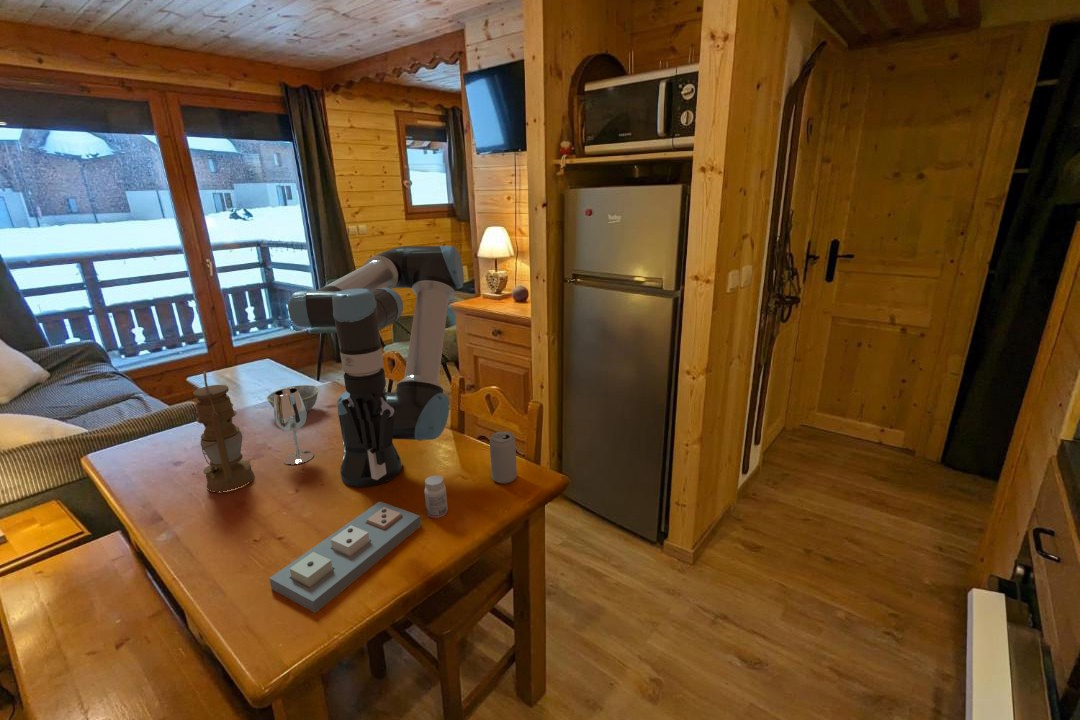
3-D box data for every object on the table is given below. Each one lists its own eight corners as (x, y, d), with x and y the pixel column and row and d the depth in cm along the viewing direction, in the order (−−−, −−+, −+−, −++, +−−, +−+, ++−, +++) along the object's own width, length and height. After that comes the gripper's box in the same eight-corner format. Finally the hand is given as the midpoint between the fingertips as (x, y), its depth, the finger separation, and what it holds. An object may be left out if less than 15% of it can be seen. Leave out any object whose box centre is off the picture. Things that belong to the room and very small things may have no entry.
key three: (385, 537, 103) (383, 525, 102) (368, 530, 106) (366, 518, 105) (402, 523, 107) (400, 512, 107) (385, 517, 110) (383, 506, 109)
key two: (350, 558, 95) (348, 546, 95) (332, 550, 98) (330, 538, 97) (370, 543, 100) (368, 531, 99) (352, 536, 102) (350, 524, 101)
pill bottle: (428, 506, 114) (424, 474, 112) (448, 505, 115) (446, 473, 112) (425, 519, 110) (421, 486, 107) (447, 517, 110) (443, 485, 108)
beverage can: (513, 486, 122) (511, 442, 118) (488, 483, 123) (486, 440, 119) (519, 473, 128) (518, 431, 124) (495, 470, 129) (493, 429, 125)
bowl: (259, 422, 161) (255, 401, 158) (290, 403, 176) (287, 383, 173) (304, 425, 158) (300, 403, 156) (331, 405, 173) (328, 385, 171)
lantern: (196, 481, 127) (167, 371, 118) (239, 464, 135) (215, 360, 125) (221, 501, 118) (191, 384, 109) (265, 482, 126) (241, 371, 117)
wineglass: (276, 462, 135) (262, 395, 129) (299, 449, 142) (287, 384, 136) (298, 467, 132) (284, 398, 126) (320, 454, 139) (308, 388, 133)
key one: (310, 589, 88) (307, 576, 87) (292, 580, 90) (289, 567, 89) (333, 572, 92) (330, 559, 91) (315, 563, 94) (313, 550, 93)
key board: (315, 613, 85) (312, 601, 84) (271, 589, 91) (269, 578, 90) (421, 525, 108) (419, 515, 107) (381, 510, 113) (379, 501, 112)
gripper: (324, 371, 95) (343, 477, 103) (373, 381, 89) (389, 493, 97) (355, 359, 101) (370, 460, 109) (402, 368, 96) (415, 474, 103)
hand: (379, 475), depth 103 cm, fingers closed
